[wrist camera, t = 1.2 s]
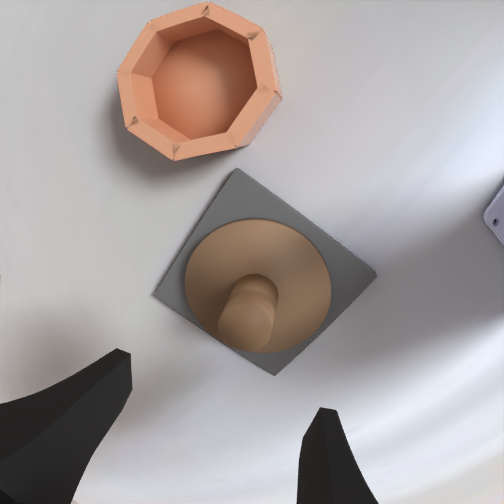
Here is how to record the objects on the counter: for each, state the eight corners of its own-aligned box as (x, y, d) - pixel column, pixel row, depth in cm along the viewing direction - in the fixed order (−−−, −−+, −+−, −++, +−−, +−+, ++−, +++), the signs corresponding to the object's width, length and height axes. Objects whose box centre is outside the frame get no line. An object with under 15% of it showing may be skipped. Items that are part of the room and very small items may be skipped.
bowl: (306, 67, 15) (305, 54, 12) (226, 177, 18) (210, 187, 15) (194, 5, 14) (173, -14, 11) (127, 110, 17) (97, 109, 14)
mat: (375, 271, 18) (376, 276, 18) (275, 370, 22) (274, 375, 22) (237, 167, 18) (235, 169, 17) (157, 291, 21) (153, 295, 21)
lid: (360, 277, 18) (372, 318, 14) (273, 365, 21) (264, 412, 17) (238, 187, 17) (216, 205, 13) (166, 295, 21) (137, 332, 17)
